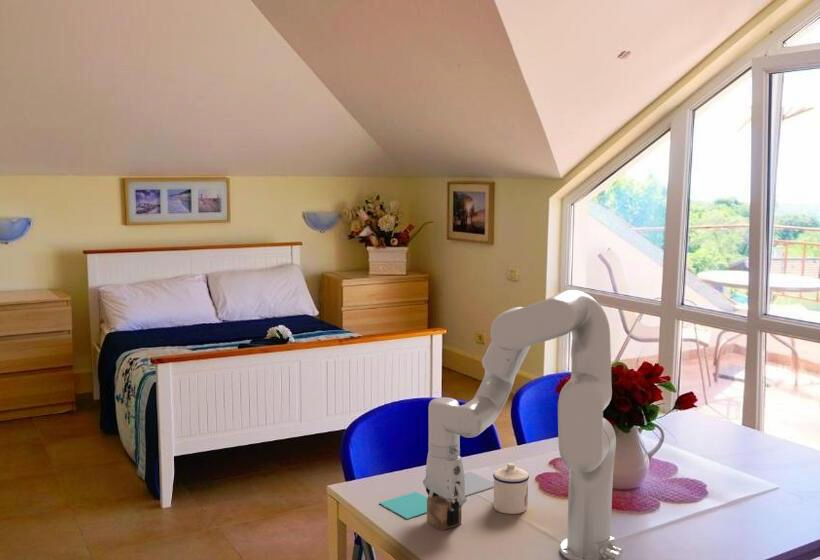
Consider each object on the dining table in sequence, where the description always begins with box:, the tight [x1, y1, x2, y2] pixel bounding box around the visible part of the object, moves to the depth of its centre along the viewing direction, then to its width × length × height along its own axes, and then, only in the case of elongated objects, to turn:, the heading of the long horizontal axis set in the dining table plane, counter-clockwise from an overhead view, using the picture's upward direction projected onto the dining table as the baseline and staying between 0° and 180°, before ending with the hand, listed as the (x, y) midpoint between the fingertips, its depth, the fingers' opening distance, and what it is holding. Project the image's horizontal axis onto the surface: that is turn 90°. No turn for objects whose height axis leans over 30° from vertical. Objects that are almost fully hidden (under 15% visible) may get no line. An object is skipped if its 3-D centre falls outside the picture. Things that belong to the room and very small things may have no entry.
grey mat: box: [464, 471, 494, 497], centre depth 229 cm, size 12×12×1 cm
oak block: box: [426, 495, 462, 531], centre depth 204 cm, size 6×6×6 cm
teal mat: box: [378, 491, 428, 520], centre depth 215 cm, size 12×12×1 cm
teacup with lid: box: [492, 462, 530, 515], centre depth 214 cm, size 12×9×12 cm
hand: (444, 519), depth 204 cm, fingers closed on oak block, 6 cm apart
